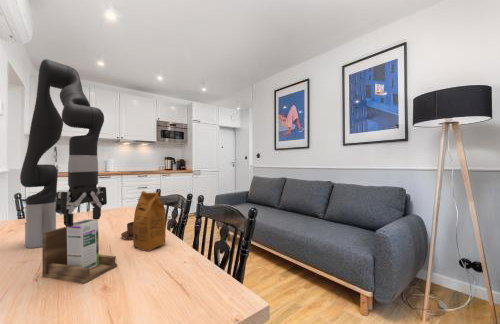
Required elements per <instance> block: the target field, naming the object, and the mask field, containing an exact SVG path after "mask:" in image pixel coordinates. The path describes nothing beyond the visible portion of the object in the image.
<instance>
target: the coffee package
mask: <svg viewBox="0 0 500 324" xmlns="http://www.w3.org/2000/svg"><path fill="white" fill-rule="evenodd" d="M161 196H162V195H161V193H160V192H146V190H145V191H144V190H142V191H141V192H140V196H139V197H138V198H139V199H138V201H137V204H136V206H135V211H134V217H133V222H134V224H133V239H132V241H133V244H132V245H133V247H134V248H136V247H137V248H138V249H139V250H140V251H152V250H153V249H155V248H157V247H160V246H163V245H165V244H166V230H167V228H166V223H167V222H166V208H165V205H164V204H163V202H162V200H161V198H160V197H161Z"/></svg>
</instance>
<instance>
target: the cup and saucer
mask: <svg viewBox="0 0 500 324" xmlns="http://www.w3.org/2000/svg"><path fill="white" fill-rule="evenodd" d="M133 224H134V221H131V222H128V223H127V224H126V230H125V231H123V232H122V233H121V234H120V236H121V237H122V238H124V239H127V240H128V239H129V240H131V239H132V240H133Z"/></svg>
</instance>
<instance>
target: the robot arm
mask: <svg viewBox="0 0 500 324" xmlns="http://www.w3.org/2000/svg"><path fill="white" fill-rule="evenodd" d="M37 76H38V78H37V89H36V99H35V102H34V103H35V104H34V110H33V113H32V117H31V123H30V129H29V136H28V142H27V143H28V144H27V148H26V149H27V150H26V153H25V156H24V159H23V162H22V163H23V164H22V167H21V170H20V175H19V176H20V178H19V180H20V184H21V186H23V187H24V188H38V187H43V188H42V189H41V190H40V191H38V192H36V193H35V194H32V195H29V196H27V197H26V198H25V222H24V246H25V247H26V248H27V249H36V248H42V233H43V232H47V231H51V230H55V229H57V214H62V215H63V225H64V227H71V226H73V223H74V211H75V209H76V208H78V207H79V205H82V204H85V203H87V204H90V205H91V206H92V220H98V221H99V220H100V219H101V215H102V207H103V206H105V205H107V204H108V202H107V201H108V199H107V187H106V186H98V187H97V185H99V160H98V143H99V142H98V141H99V138H100V134H101V131H102V127H103V126H104V122H105V115H104V113H103V111H102V110H101V109H100V108H98V107H95V106H91V104H90V101H89V99H88V98H87V97H86V95H85V93H84V90H83V86H82V81H81V78H80V74H79V72H78V71H77V70H76V69H75V68H74V67H71V66H70V65H67V64H63V63H60V62H57V61H53V60H50V59H47V58H46V59H43V60H42V61H41V62H40V65H39V70H38V75H37ZM51 88H54V89H59V90H60V92H59V100H60V101H61V104H62V106H63V107H62V111H61V114H60V113H59V111H58V109H57V108H56V105H55V104H54V102H53V99H52V97H51V92H50V90H51ZM64 125H66V126H67V127H69V128H75V129H83V130H85V129H86V130H88V132H87V133H86V134H83V135H74V136H71V137H70V138H69V142H68V145H69V147H68V149H69V150H68V155H69V156H68V162H67V171H68V172H67V185H68V188H69V189H68V190H67V191H57V188H58V169H57V166H55V165H54V164H39V161H40V160H41V158H42V157H43V156H44V155H45V153H47V151H49V150H50V149H51V148H53V147H54V146H55V145H56V144H57V143H58V142H59V140H60V139H61V137H62V132H63V127H64Z"/></svg>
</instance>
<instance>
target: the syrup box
mask: <svg viewBox="0 0 500 324" xmlns="http://www.w3.org/2000/svg"><path fill="white" fill-rule="evenodd" d="M99 239H100V238H99V219H98V220H95V219H82V220H78V221H76V222H73V226H71V227H67V265H70V266H76V267H83V268H89V269H92V268H94V267H96V266H98V265H99V254H100V251H99V249H100V248H99V247H100V245H99V241H100V240H99Z"/></svg>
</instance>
